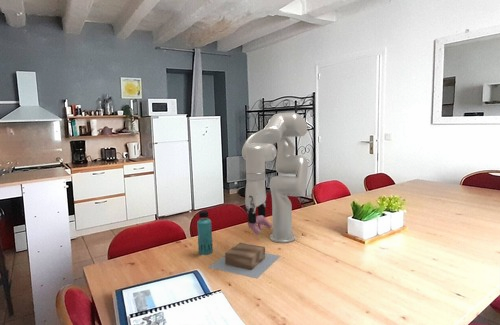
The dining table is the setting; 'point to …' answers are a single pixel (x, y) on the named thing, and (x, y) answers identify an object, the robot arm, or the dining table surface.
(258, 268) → the base plate
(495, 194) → the dining table surface
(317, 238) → the dining table surface
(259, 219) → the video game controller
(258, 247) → the walnut block
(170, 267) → the dining table surface
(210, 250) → the beverage bottle
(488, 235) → the dining table surface
